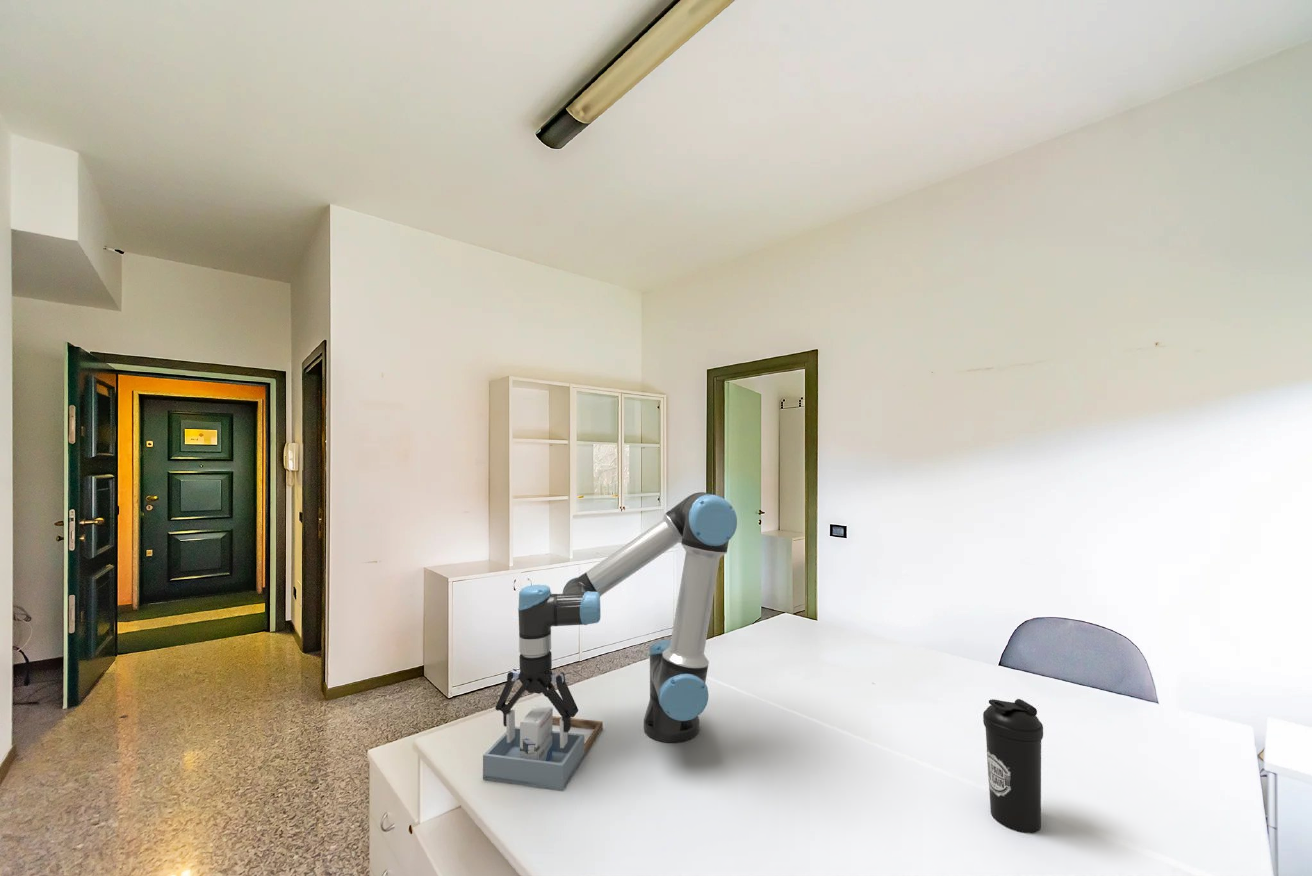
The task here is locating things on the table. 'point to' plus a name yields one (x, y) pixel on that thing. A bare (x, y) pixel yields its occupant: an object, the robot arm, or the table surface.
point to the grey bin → (534, 762)
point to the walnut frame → (587, 725)
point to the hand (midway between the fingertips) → (537, 742)
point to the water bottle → (1014, 764)
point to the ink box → (536, 734)
